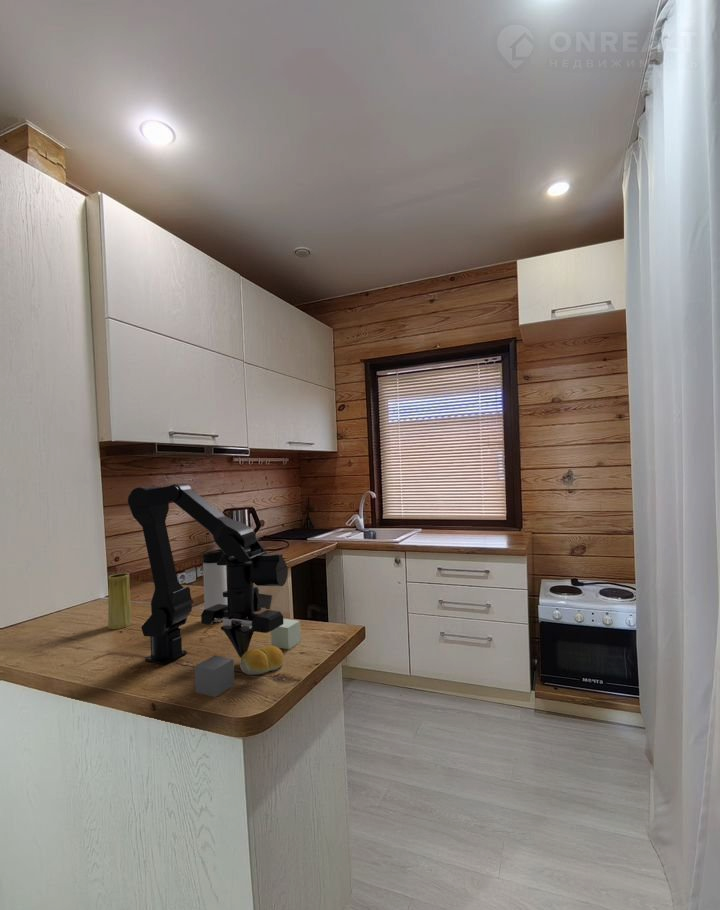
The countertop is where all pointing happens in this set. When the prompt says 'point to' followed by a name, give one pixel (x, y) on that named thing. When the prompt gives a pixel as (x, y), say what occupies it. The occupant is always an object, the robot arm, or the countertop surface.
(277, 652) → the bread roll
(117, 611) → the vase
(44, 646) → the countertop surface
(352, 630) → the countertop surface
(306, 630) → the countertop surface
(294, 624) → the sage block
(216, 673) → the charcoal block
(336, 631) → the countertop surface
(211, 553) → the travel mug
